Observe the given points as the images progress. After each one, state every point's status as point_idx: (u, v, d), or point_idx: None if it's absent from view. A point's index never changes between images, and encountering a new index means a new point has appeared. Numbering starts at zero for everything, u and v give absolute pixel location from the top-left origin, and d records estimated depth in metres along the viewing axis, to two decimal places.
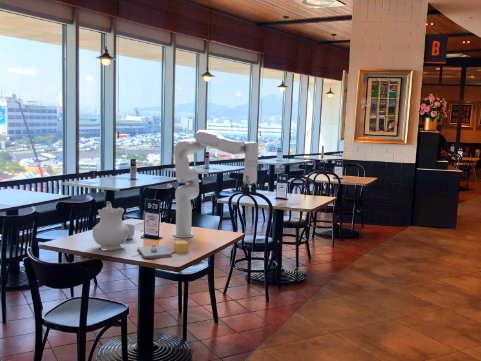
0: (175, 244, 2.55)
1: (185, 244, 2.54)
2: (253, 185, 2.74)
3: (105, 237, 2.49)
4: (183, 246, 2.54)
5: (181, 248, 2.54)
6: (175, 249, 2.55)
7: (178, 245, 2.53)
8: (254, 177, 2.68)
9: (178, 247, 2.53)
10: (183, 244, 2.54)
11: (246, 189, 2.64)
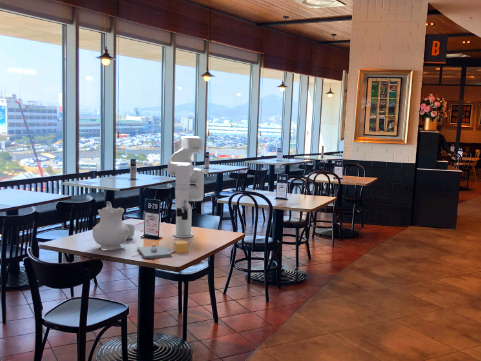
0: (175, 244, 2.55)
1: (185, 244, 2.54)
2: (179, 209, 2.59)
3: (105, 237, 2.49)
4: (183, 246, 2.54)
5: (181, 248, 2.54)
6: (175, 249, 2.55)
7: (178, 245, 2.53)
8: None
9: (178, 247, 2.53)
10: (183, 244, 2.54)
11: (185, 214, 2.50)
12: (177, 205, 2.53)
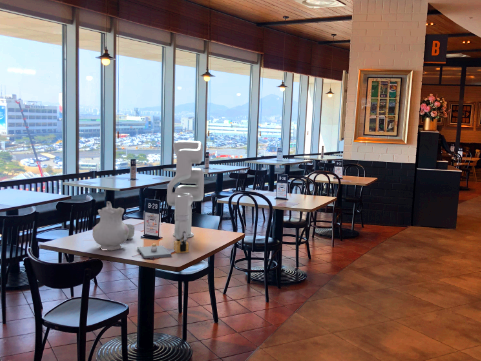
0: (175, 244, 2.55)
1: None
2: (179, 240, 2.60)
3: (105, 237, 2.49)
4: None
5: None
6: (175, 249, 2.55)
7: (178, 245, 2.53)
8: None
9: (178, 247, 2.53)
10: None
11: (184, 246, 2.53)
12: (176, 236, 2.55)
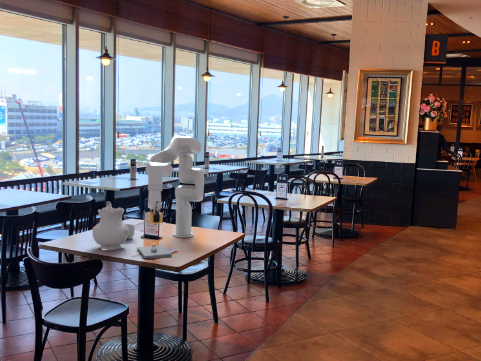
0: (148, 215, 2.47)
1: None
2: (153, 211, 2.52)
3: (105, 237, 2.49)
4: None
5: None
6: (148, 220, 2.47)
7: (151, 216, 2.45)
8: None
9: (151, 218, 2.45)
10: None
11: (157, 217, 2.45)
12: (149, 206, 2.47)
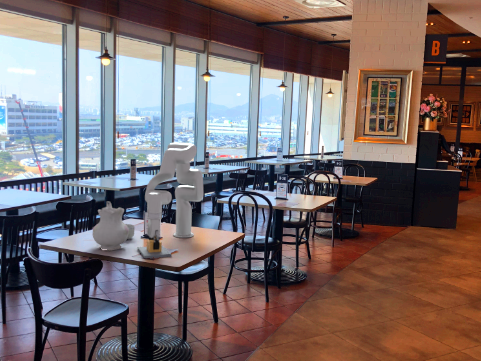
0: (148, 243, 2.49)
1: None
2: (152, 237, 2.54)
3: (105, 237, 2.49)
4: None
5: None
6: (148, 248, 2.49)
7: (151, 244, 2.47)
8: None
9: (151, 246, 2.47)
10: None
11: (157, 244, 2.45)
12: (149, 234, 2.48)
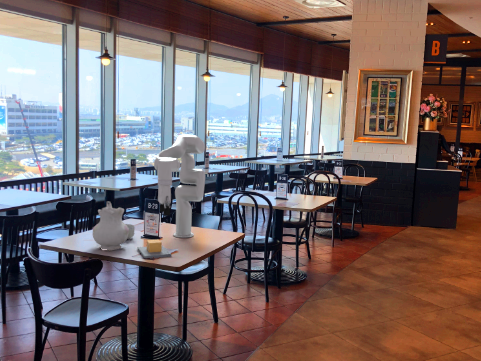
0: (148, 243, 2.49)
1: (158, 243, 2.48)
2: (162, 204, 2.59)
3: (105, 237, 2.49)
4: (156, 245, 2.48)
5: (154, 247, 2.47)
6: (148, 248, 2.49)
7: (151, 244, 2.47)
8: None
9: (151, 246, 2.47)
10: (156, 243, 2.48)
11: (167, 210, 2.50)
12: (159, 201, 2.53)
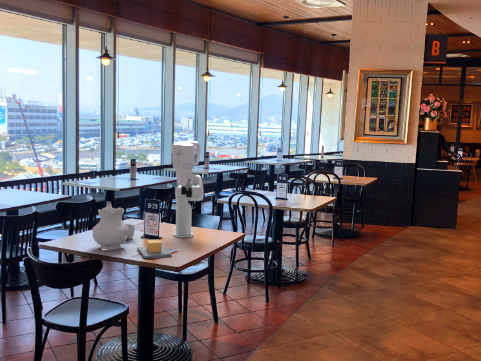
0: (148, 243, 2.49)
1: (158, 243, 2.48)
2: (184, 187, 2.73)
3: (105, 237, 2.49)
4: (156, 245, 2.48)
5: (154, 247, 2.47)
6: (148, 248, 2.49)
7: (151, 244, 2.47)
8: None
9: (151, 246, 2.47)
10: (156, 243, 2.48)
11: (190, 192, 2.64)
12: (182, 183, 2.67)
